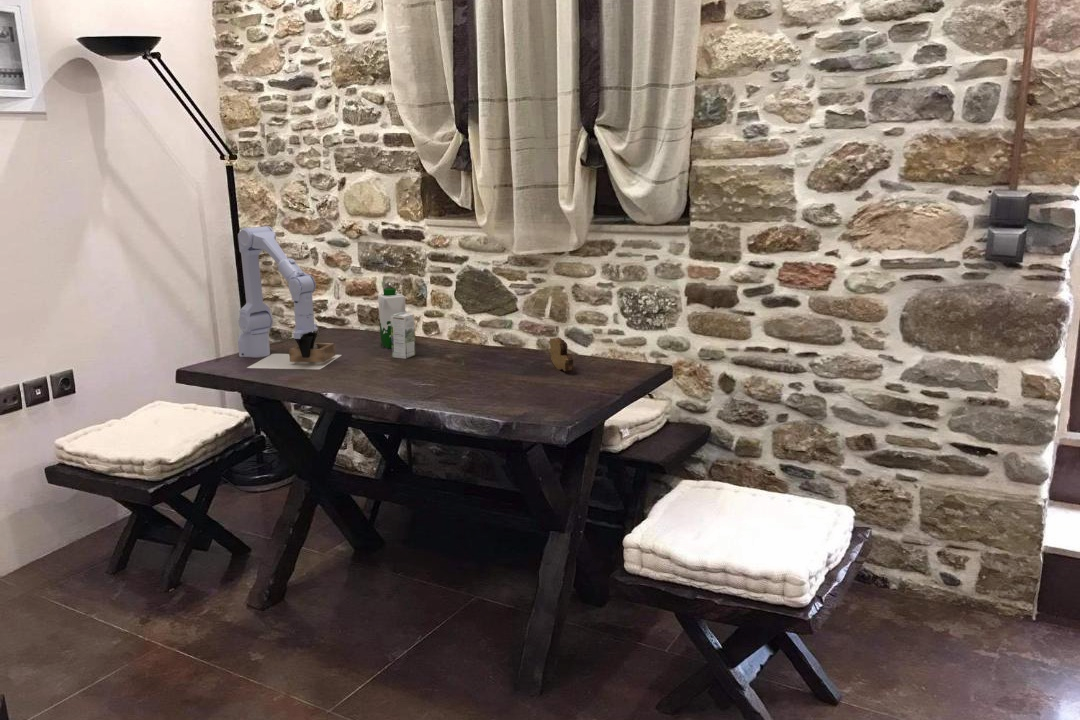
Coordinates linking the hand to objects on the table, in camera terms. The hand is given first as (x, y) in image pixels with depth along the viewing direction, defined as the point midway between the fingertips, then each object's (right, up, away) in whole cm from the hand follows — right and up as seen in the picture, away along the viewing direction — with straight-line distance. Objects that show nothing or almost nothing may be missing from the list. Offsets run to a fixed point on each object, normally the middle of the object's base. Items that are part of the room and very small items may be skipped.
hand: (307, 356), depth 277 cm
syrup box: (+28, 0, +16) cm, 32 cm away
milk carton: (+22, +4, +32) cm, 39 cm away
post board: (-5, -3, +6) cm, 9 cm away
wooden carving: (+80, -4, -3) cm, 80 cm away
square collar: (0, -1, +5) cm, 5 cm away
